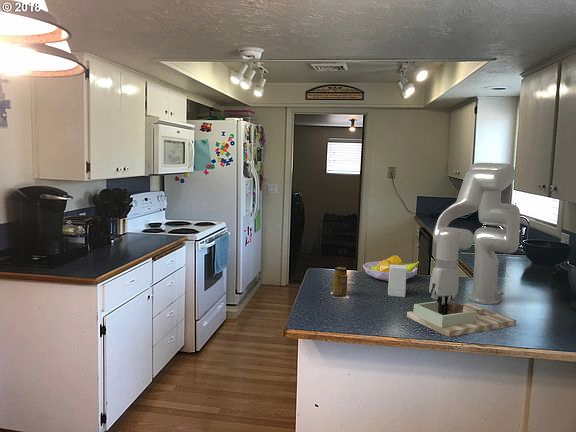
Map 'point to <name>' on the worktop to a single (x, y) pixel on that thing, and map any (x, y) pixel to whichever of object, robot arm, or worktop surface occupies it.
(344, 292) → the condiment
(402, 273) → the supplement box
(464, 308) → the board
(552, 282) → the worktop surface
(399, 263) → the fruit bowl
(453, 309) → the walnut block
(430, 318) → the low bay
